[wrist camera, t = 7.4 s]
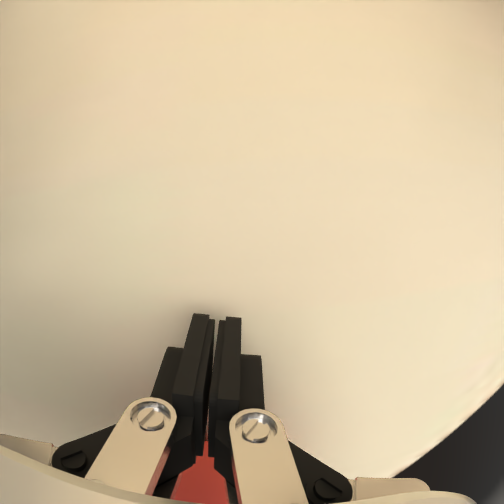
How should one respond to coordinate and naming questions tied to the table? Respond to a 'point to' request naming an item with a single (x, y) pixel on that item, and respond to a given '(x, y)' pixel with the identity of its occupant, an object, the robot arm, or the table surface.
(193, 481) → the ball
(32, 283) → the table surface
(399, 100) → the table surface
